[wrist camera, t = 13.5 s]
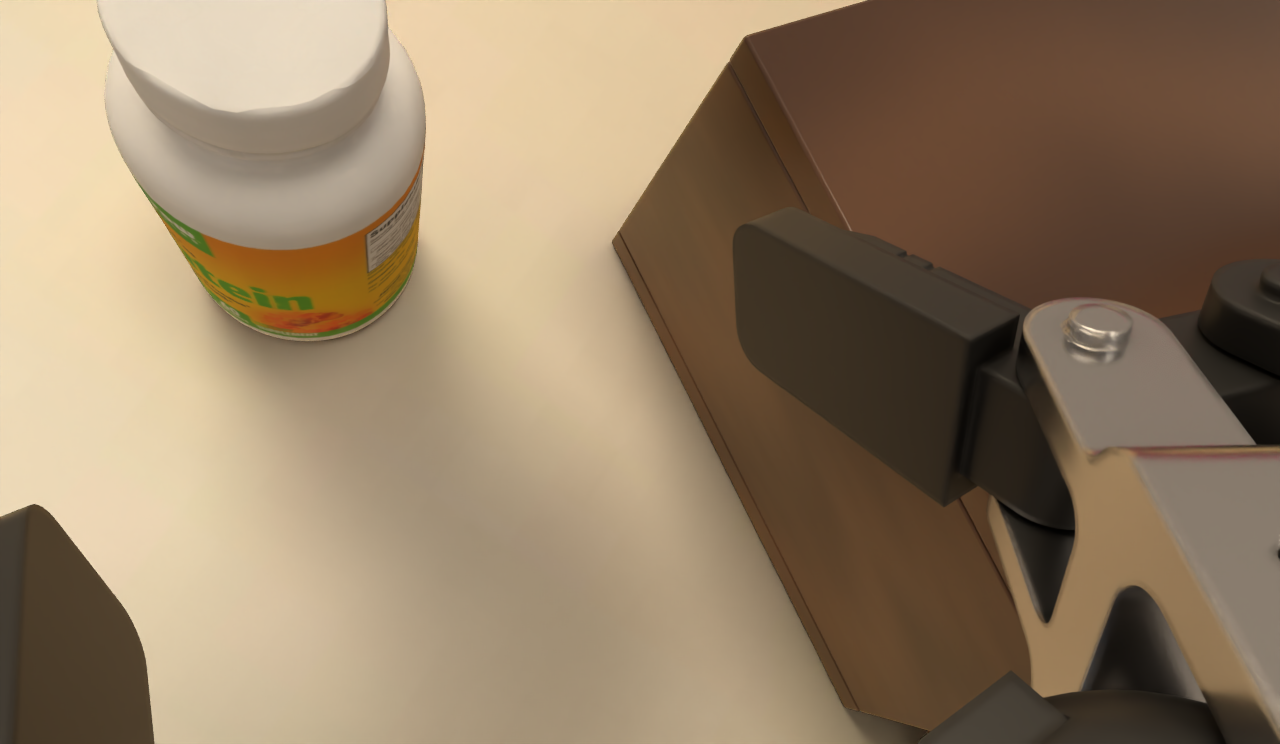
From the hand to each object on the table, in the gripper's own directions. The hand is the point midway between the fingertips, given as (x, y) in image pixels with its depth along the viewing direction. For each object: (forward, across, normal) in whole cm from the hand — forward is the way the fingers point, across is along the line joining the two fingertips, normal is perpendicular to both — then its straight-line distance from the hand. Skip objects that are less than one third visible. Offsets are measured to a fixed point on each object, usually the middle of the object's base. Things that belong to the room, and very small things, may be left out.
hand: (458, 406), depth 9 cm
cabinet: (+6, -15, +10) cm, 19 cm away
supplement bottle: (+14, 0, +3) cm, 14 cm away
